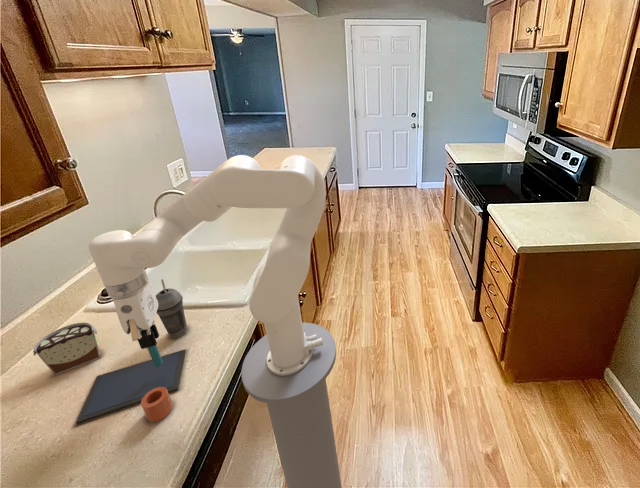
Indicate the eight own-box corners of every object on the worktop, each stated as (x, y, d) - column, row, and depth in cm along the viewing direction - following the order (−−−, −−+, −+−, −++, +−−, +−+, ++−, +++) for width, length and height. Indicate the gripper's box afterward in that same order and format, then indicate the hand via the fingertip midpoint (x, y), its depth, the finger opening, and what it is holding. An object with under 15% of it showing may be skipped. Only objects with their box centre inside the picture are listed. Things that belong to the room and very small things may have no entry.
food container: (109, 340, 98) (97, 314, 94) (107, 354, 93) (94, 327, 89) (52, 361, 91) (37, 334, 88) (47, 378, 87) (30, 349, 83)
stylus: (163, 360, 86) (149, 321, 81) (162, 365, 85) (147, 326, 80) (155, 362, 86) (140, 324, 81) (153, 368, 84) (138, 329, 79)
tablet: (185, 351, 94) (185, 348, 93) (178, 390, 83) (177, 387, 82) (98, 378, 86) (96, 375, 86) (76, 424, 75) (75, 422, 75)
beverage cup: (183, 320, 105) (165, 268, 97) (197, 327, 102) (180, 274, 94) (159, 337, 99) (138, 282, 91) (174, 345, 96) (153, 289, 88)
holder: (174, 397, 81) (168, 383, 79) (170, 416, 77) (164, 401, 75) (150, 406, 79) (143, 391, 77) (145, 426, 75) (138, 411, 73)
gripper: (137, 299, 70) (161, 361, 77) (154, 260, 84) (173, 317, 91) (93, 309, 67) (122, 373, 74) (118, 268, 81) (140, 325, 88)
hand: (150, 342), depth 82 cm, fingers closed on stylus, 1 cm apart
